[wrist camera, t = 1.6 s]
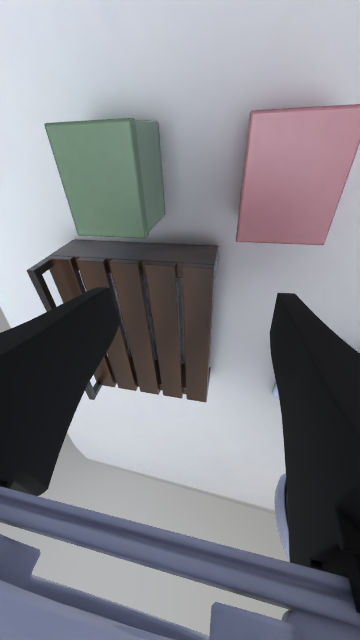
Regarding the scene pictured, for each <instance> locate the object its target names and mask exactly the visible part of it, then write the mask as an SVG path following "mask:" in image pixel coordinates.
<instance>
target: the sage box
mask: <svg viewBox="0 0 360 640" xmlns="http://www.w3.org/2000/svg"><path fill="white" fill-rule="evenodd" d="M44 125H45V128H46V132H47V135H48V138H49V142H50V145H51V148H52V151H53V155H54V158H55V161H56V164H57V168H58V171H59V174H60V177H61V181H62V184H63V187H64V190H65V194H66V197H67V200H68V203H69V207H70V210H71V213H72V217H73V220H74V223H75V226H76V230H77V233H78V235H79V236H104V237H130V238H146V237H147V236H148V234H149V233H148V232H149V231H150V230H151V229H152V228H153V227H154V226H155V225H156V224H157V223H158V221H159V220H160V219H161V218H162V217H163V216H164V215H165V210H164V196H163V182H162V169H161V155H160V141H159V128H158V122H156V121H140V120H135V119H133V118H123V119H107V120H90V121H74V122H57V123H45V124H44Z"/></svg>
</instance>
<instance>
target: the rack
mask: <svg viewBox="0 0 360 640" xmlns="http://www.w3.org/2000/svg"><path fill="white" fill-rule="evenodd" d="M218 253H219V246H204V245H181V244H157V243H134V242H111V241H87V240H72V241H71V242H69V243H68V244H66V245H65V246H63V247H62V248H60V249H58V250H57V251H55V252H54V253H52V254H51V255H50V256H48V257H46V258H45V259H43V260H42V261H40V262H39V263H37V264H36V265H34V266H33V267H31V268H30V269H28V270H27V272H28V274H29V276H30V278H31V281H32V283H33V285H34V287H35V289H36V291H37V293H38V295H39V297H40V299H41V301H42V303H43V305H44V307H45V309H46V311H47V312H48V311H50V310H52V309H54V308H56V305H55V302H54V300H53V298H52V296H51V294H50V291H49V289H48V287H47V285H46V282H45V280H44V278H43V276H42V274H43V273H44V272H46V271H47V270H50V272H51V275H52V277H53V279H54V282H55V284H56V286H57V289H58V291H59V294H60V296H61V298H62V301H63V303H65V302H67V301H69V300H71V299H73V298H75V297H77V296H79V295H81V294H83V293H85V292H86V291H89V290H91V289H93V288H96V287H109V289H110V292H111V295H112V298H113V301H114V304H115V308H116V311H117V314H118V317H119V320H120V325H119V327H118V330H117V333H116V335H115V337H114V340H113V342H112V343H111V345H110V347H109V349H108V350H107V354H108V357H107V354H105V356H104V357H103V359H102V361H101V362H100V364H99V366H98V367H97V369H96V371H95V372H94V377H95V379H96V381H97V382H96V384H95V385H94V387H92V385H91V383H90V381H89V383H88V385H87V387H86V389H85V391H86V393H87V395H88V397H89V399H92V400H94V399H95V397H96V395H97V394H98V392H99V390H100V388H101V386H102V385H104V386H110V387H115V385H116V383H117V384H118V387H119V388H122V389H128V390H134V391H136V390H137V388H138V387H140V391H141V392H146V393H152V394H158V395H159V392H160V390H163V395H164V396H171V397H177V398H182V397H183V394H187V399H189V400H195V401H201V402H206V401H207V394H208V387H209V380H210V371H211V368H210V367H209V356H210V339H211V322H212V306H213V289H214V277H215V272H216V267H217V262H218ZM78 270H80V273H81V276H82V279H83V282H84V285H85V288H86V291H85V288H84V285H83V282H82V280H81V277H80V274H79V271H78ZM110 273H112V275H113V279H114V283H115V288H116V292H117V296H118V300H119V304H120V308H121V312H122V317H123V321H124V325H125V329H126V333H127V337H128V341H129V346H130V350H131V354H132V357H130V353H129V349H128V345H127V341H126V337H125V333H124V329H123V325H122V321H121V317H120V313H119V309H118V305H117V301H116V297H115V293H114V289H113V285H112V280H111V276H110ZM143 275H146V277H147V284H148V291H149V298H150V305H151V312H152V319H153V326H154V333H155V340H156V347H157V354H158V360H155V354H154V347H153V341H152V334H151V328H150V321H149V315H148V308H147V301H146V295H145V288H144V282H143ZM177 277H182V279H183V308H184V337H185V364H182V363H181V343H180V324H179V304H178V284H177Z"/></svg>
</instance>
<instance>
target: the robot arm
mask: <svg viewBox="0 0 360 640" xmlns="http://www.w3.org/2000/svg"><path fill="white" fill-rule="evenodd" d="M119 325H120V320H119V317H118V314H117V311H116V308H115V304H114V301H113V298H112V295H111V292H110V289H109V287H96V288H93V289H91V290H89V291H87V292H85V293H83V294H81V295H79V296H77V297H75V298H73V299H71V300H69V301H67V302H65V303H64V304H62V305H60V306H58V307H56V308H54V309H52V310H50V311H48V312H46V313H44V314H42V315H40V316H38V317H36V318H34V319H32V320H30V321H28V322H25V323H23V324H21V325H19V326H16V327H14V328H11V329H9V330H7V331H4V332H1V333H0V522H1V523H5V524H8V525H11V526H15V527H18V528H22V529H25V530H28V531H31V532H35V533H38V534H41V535H44V536H48V537H51V538H54V539H58V540H61V541H64V542H67V543H71V544H74V545H77V546H81V547H84V548H87V549H91V550H94V551H97V552H101V553H104V554H107V555H110V556H114V557H117V558H120V559H124V560H127V561H130V562H134V563H137V564H140V565H144V566H147V567H150V568H154V569H157V570H160V571H163V572H167V573H170V574H173V575H177V576H180V577H183V578H187V579H190V580H193V581H196V582H200V583H203V584H206V585H210V586H213V587H216V588H220V589H223V590H227V591H230V592H233V593H236V594H240V595H243V596H246V597H249V598H253V599H256V600H259V601H262V602H266V603H269V604H272V605H276V606H279V607H283V608H286V609H289V610H288V611H287V612H286V613H284V615H283V617H282V620H278V619H274V618H271V617H268V616H265V615H261V614H258V613H254V612H250V611H247V610H243V609H239V608H236V607H233V606H229V605H225V604H222V603H218V602H215V603H214V604H213V605H212V608H211V623H210V636H208V635H205V634H202V633H199V632H197V631H194V630H191V629H188V628H186V627H183V626H180V625H178V624H175V623H172V622H169V621H167V620H164V619H161V618H158V617H155V616H153V615H150V614H147V613H144V612H142V611H138V610H136V609H133V608H130V607H127V606H124V605H121V604H118V603H115V602H112V601H110V600H106V599H103V598H100V597H97V596H94V595H92V594H89V593H85V592H82V591H79V590H77V589H73V588H70V587H67V586H64V585H61V584H58V583H55V582H52V581H49V580H46V579H43V578H40V577H37V576H34V575H32V571H33V568H34V566H35V564H36V562H37V560H38V558H39V556H40V550H39V549H36V548H34V547H31V546H28V545H26V544H23V543H21V542H18V541H15V540H12V539H10V538H8V537H6V536H3V535H1V534H0V640H360V353H358V352H357V351H356V350H354V349H353V348H352V347H351V346H349V345H348V344H347V343H346V342H345V341H343V340H342V339H341V338H340V337H339V336H338V335H336V334H335V333H334V332H333V331H332V330H331V329H330V328H329V327H327V326H326V325H325V324H324V323H323V322H322V321H321V320H320V319H319V318H318V317H317V316H316V315H315V314H314V313H313V312H312V311H311V310H310V309H309V308H308V307H307V306H306V305H305V304H304V303H303V302H302V301H301V300H300V299H299V297H298V296H297V295H296V294H291V293H278V294H277V299H276V304H275V309H274V314H273V319H272V324H271V329H270V347H271V357H272V363H273V368H274V374H275V379H276V384H275V387H274V389H273V392H272V394H273V396H274V397H276V398H279V400H280V406H281V413H282V424H283V436H284V450H285V465H286V474H283V475H282V476H281V477H280V479H279V482H278V485H277V487H276V491H275V516H276V522H277V527H278V532H279V536H280V539H281V542H282V545H283V548H284V550H285V553H286V555H287V557H288V559H289V561H290V562H286V561H282V560H278V559H274V558H270V557H266V556H263V555H259V554H255V553H252V552H248V551H244V550H240V549H236V548H232V547H229V546H225V545H221V544H217V543H213V542H209V541H206V540H202V539H198V538H194V537H190V536H187V535H183V534H179V533H175V532H171V531H168V530H163V529H160V528H156V527H152V526H149V525H145V524H141V523H137V522H133V521H130V520H126V519H122V518H118V517H114V516H110V515H107V514H103V513H99V512H95V511H91V510H88V509H84V508H80V507H76V506H72V505H68V504H65V503H61V502H57V501H53V500H49V499H45V498H42V497H38V496H39V495H41V494H42V493H44V492H45V491H46V490H47V489H48V486H49V483H50V480H51V477H52V474H53V471H54V468H55V464H56V461H57V458H58V455H59V452H60V450H61V447H62V444H63V442H64V439H65V436H66V433H67V431H68V428H69V426H70V423H71V421H72V418H73V416H74V413H75V411H76V409H77V406H78V404H79V402H80V400H81V397H82V395H83V393H84V391H85V389H86V387H87V385H88V383H89V381H90V379H91V378H92V376H93V374H94V372H95V371H96V369H97V367H98V366H99V364H100V362H101V361H102V359H103V357H104V356H105V354H106V352H107V350H108V349H109V347H110V345H111V343H112V342H113V340H114V337H115V335H116V333H117V330H118V327H119Z"/></svg>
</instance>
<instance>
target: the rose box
mask: <svg viewBox="0 0 360 640" xmlns="http://www.w3.org/2000/svg"><path fill="white" fill-rule="evenodd" d="M359 143H360V104H355V105H339V106H322V107H306V108H289V109H272V110H256V111H251V112H250V118H249V126H248V135H247V144H246V153H245V162H244V171H243V180H242V189H241V198H240V207H239V216H238V226H237V234H236V242H256V243H281V244H307V245H324V243H325V240H326V237H327V234H328V231H329V228H330V226H331V223H332V220H333V217H334V214H335V211H336V209H337V206H338V203H339V200H340V197H341V194H342V192H343V189H344V186H345V183H346V180H347V177H348V175H349V172H350V169H351V166H352V163H353V160H354V157H355V155H356V152H357V149H358V146H359Z"/></svg>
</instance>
